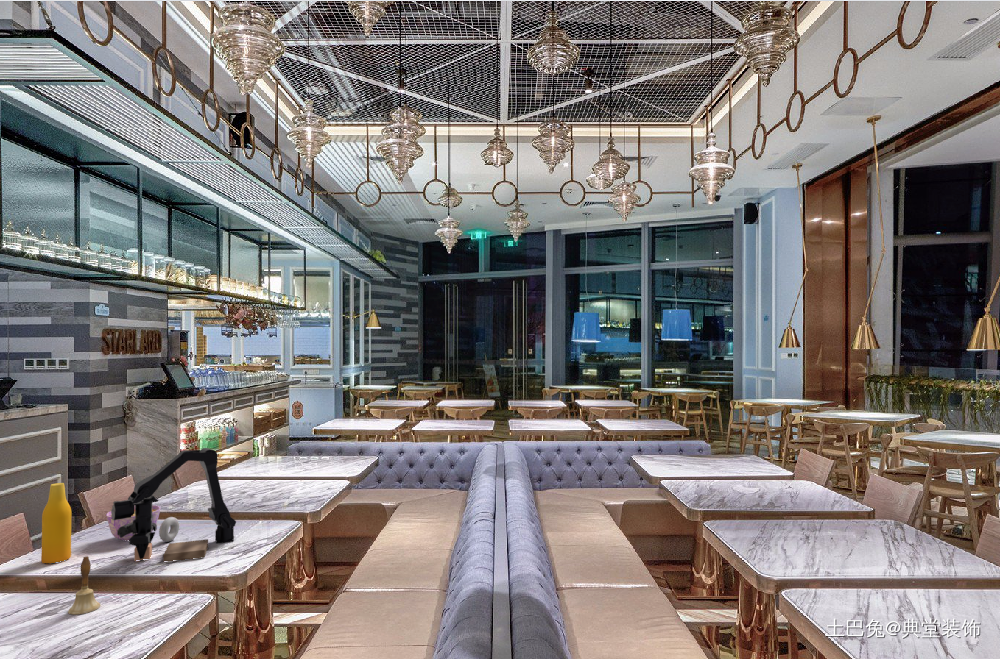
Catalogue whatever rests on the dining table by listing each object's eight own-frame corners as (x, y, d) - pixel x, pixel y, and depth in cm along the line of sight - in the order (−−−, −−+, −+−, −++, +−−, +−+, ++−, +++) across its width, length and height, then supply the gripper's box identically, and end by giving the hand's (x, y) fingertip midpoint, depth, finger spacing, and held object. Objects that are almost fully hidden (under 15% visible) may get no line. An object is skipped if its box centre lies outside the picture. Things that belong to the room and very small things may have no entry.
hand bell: (78, 604, 189) (79, 553, 189) (106, 602, 189) (106, 552, 190) (61, 615, 180) (62, 562, 181) (90, 614, 181) (91, 561, 182)
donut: (164, 545, 245) (164, 520, 246) (156, 545, 246) (157, 520, 246) (181, 537, 255) (181, 514, 256) (173, 537, 256) (173, 513, 256)
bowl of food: (96, 547, 244) (97, 518, 244) (117, 532, 263) (117, 506, 264) (150, 543, 248) (151, 515, 248) (167, 529, 267) (167, 503, 268)
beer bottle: (36, 565, 223) (37, 487, 224) (47, 557, 232) (48, 482, 233) (64, 563, 226) (66, 485, 227) (75, 555, 235) (76, 480, 236)
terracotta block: (151, 556, 233) (152, 543, 233) (149, 560, 228) (149, 547, 228) (137, 557, 231) (137, 544, 231) (134, 562, 227) (134, 548, 227)
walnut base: (208, 546, 243) (208, 539, 243) (204, 557, 230) (204, 549, 230) (169, 551, 238) (169, 543, 238) (163, 562, 225) (163, 554, 225)
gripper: (125, 511, 236) (124, 551, 236) (113, 523, 219) (112, 567, 218) (157, 508, 240) (156, 547, 240) (148, 520, 223) (147, 562, 222)
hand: (143, 555), depth 230 cm, fingers open, 6 cm apart
